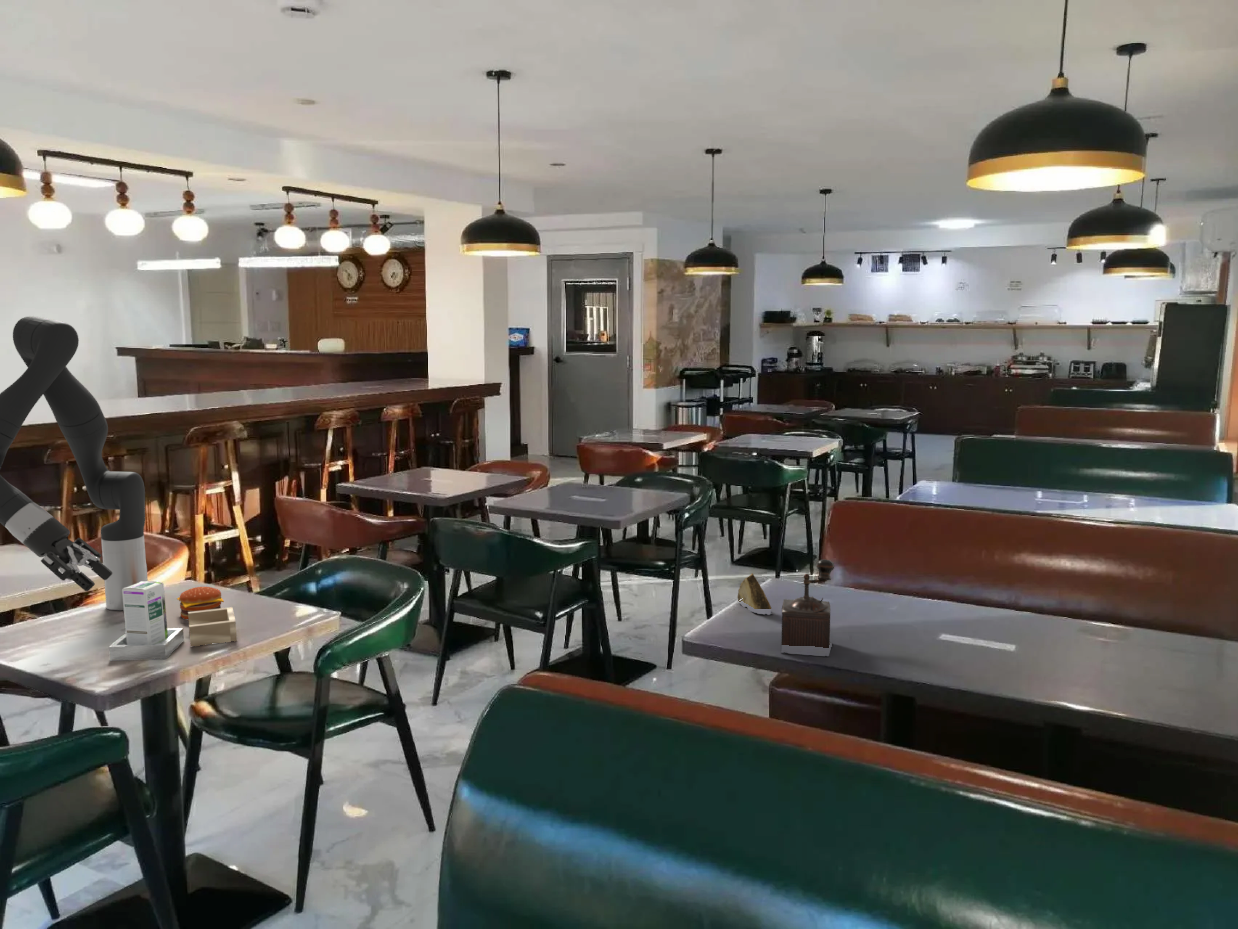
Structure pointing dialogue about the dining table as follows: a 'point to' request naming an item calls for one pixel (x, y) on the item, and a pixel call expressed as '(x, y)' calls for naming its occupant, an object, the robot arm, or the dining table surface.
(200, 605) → the hamburger
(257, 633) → the dining table surface
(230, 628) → the cradle
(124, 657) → the gray rectangular tray
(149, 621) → the syrup box
